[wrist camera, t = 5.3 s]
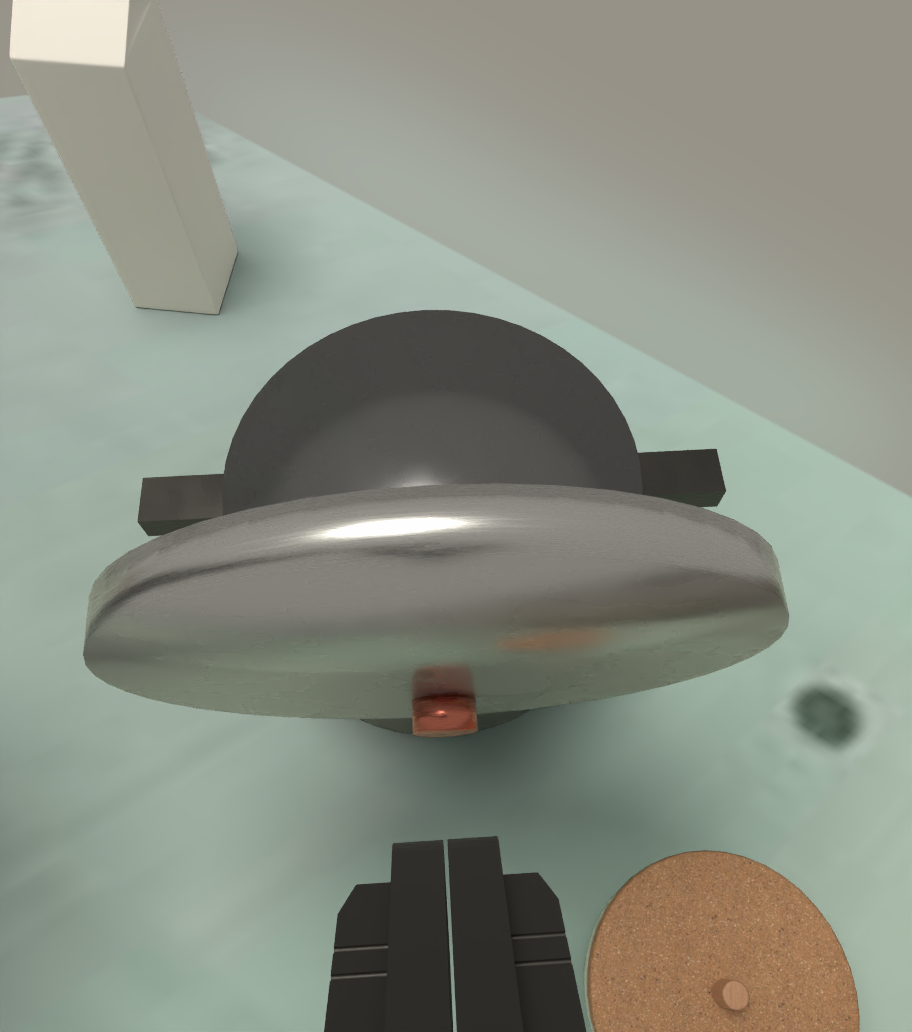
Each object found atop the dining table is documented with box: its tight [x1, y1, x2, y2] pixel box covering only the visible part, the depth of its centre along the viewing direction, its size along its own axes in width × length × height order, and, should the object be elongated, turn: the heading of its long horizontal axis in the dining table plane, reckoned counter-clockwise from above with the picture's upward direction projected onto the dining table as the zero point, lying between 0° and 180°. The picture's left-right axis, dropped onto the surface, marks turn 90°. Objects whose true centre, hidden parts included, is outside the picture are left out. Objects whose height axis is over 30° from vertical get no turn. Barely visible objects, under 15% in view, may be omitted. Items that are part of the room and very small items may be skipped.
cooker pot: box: [138, 310, 726, 734], centre depth 46 cm, size 21×28×11 cm
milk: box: [10, 0, 238, 315], centre depth 51 cm, size 6×6×22 cm
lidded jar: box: [584, 850, 859, 1032], centre depth 37 cm, size 11×11×9 cm
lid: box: [83, 483, 789, 737], centre depth 27 cm, size 20×20×3 cm
